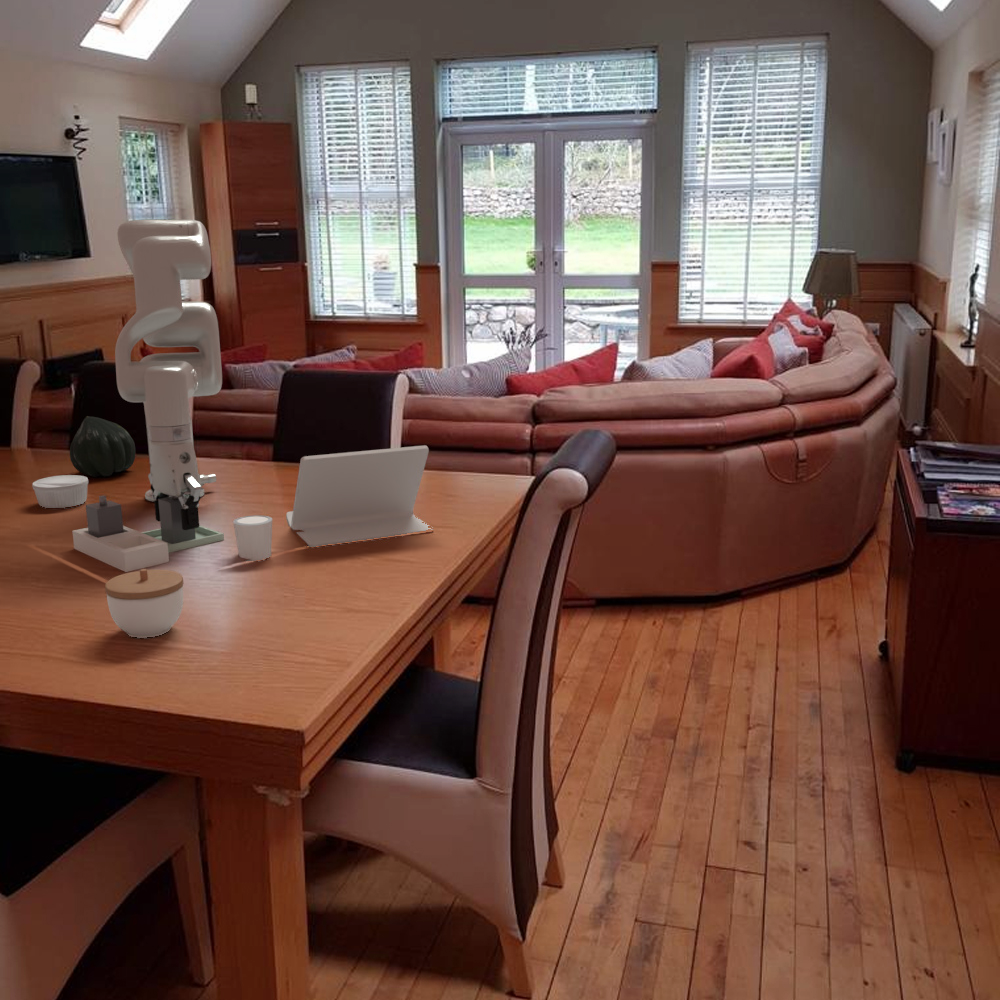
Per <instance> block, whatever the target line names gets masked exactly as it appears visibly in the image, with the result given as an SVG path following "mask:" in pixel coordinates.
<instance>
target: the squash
mask: <svg viewBox="0 0 1000 1000" xmlns="http://www.w3.org/2000/svg"><path fill="white" fill-rule="evenodd" d="M69 458H70V462H71V465H72V466H73V467H74V469H76V470H77V472H79V473H80V474H82V475H86V476H90V477H93V478H98V477H97V476H99V477H101V476H102V477H105V478H107V477H110V476H112V475H113V473H122V471H123V472H125V471H127V470H128V469H130V468H131V467H132V466H133V464H134V462H135V459H136V445H135V441H134V439H133V438H132V437H131V435H130V433H129V431H127V430H126V429H125V428H124V427H122V426H121V425H119V424H118V423H115V422H113V421H111V420H106V419H103V418H100V417H97V416H90V415H89V416H88V415H87V416H85V418H83V420H82V422H81V424H80V426H79V428H78V429H77V431H76V433H75V434H74V437H73V439H72V441H71V443H70V446H69ZM106 476H107V477H106Z"/></svg>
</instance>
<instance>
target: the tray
mask: <svg viewBox="0 0 1000 1000" xmlns="http://www.w3.org/2000/svg"><path fill="white" fill-rule="evenodd" d="M141 533H143V534H146V535H148V536H151V537H153V538H156V539H159V540H161V541H162V536H161V527H160V528H156V529H152V530H147V531H142V532H141ZM195 536H196V539H193V540H189V541H185V542H180V543H176V544H170V543H168V542H166V543H168V554H169V553H170V554H171V553H174V552H179V551H183V550H187V549H192V548H196V547H200V546H203V545H204V546H205V545H207V544H208V545H209V544H213V543H216V542H221V541H224V540H225V534H224V533H223V532H220V531H217V530H215V529H212V528H209V527H207V526H203V525H202V524H201V525H200V524H199V527H198V528H195ZM164 542H165V541H164Z"/></svg>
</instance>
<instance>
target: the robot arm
mask: <svg viewBox="0 0 1000 1000" xmlns="http://www.w3.org/2000/svg"><path fill="white" fill-rule="evenodd" d="M117 241H118V245H119V248H120V251H121V254H122V256H123V257H124V260H125V261H126V263H127V265H128V268H129V269H130V271H131V273H132V276H133V280H134V293H135V295H134V296H135V297H134V298H135V304H136V305H135V308H136V310H135V313H134V315H132V316H131V318H130V319H129V320H128V321H127V322H126V323H125V324H124V326H123V327H122V329H121V331H120V333H119V334H118V337H117V340H116V344H115V349H114V351H115V352H114V359H115V360H114V361H115V373H116V374H115V375H116V377H115V378H116V386H117V391H118V393H119V395H120V397H121V398H122V399H123V400H125V401H127V402H129V403H143V406H144V407H143V409H144V415H145V416H144V417H145V425H146V436H147V437H146V439H147V448H148V460H149V461H148V462H149V471H150V473H148V480H149V484H150V489H148V490H147V491H146V492H145V494H144V496H145V500H146V501H149V502H154V512H155V513H154V514H155V520H156V521H157V522H160V513H159V502H158V499H161V498H166V497H171V496H173V497H178V498H179V500H180V502H181V505H182V507H183V509H181V520H182V529H183V530H189V529H194V528H198V527H199V525H200V519H199V518H200V517H199V507H200V501H201V498H202V497H203V496H204V495H205V488H203V487H202V486H204V485H205V484H212V483H216V482H217V476H216V474H215V473H209V474H199V468H198V461H197V456H196V451H195V448H194V435H193V422H192V416H191V415H190V414H191V413H190V402H189V401H190V400H189V399H190V398H192V397H208V396H214V395H217V394H218V393H219V392H220V391H221V389H222V385H223V371H222V370H223V369H222V356H221V344H220V341H221V340H220V330H219V321H218V317H217V314H216V313H217V312H216V311H215V309H214V307H213V305H211V304H210V303H209V302H205V301H197V300H194V301H183V299H182V286H181V281H185V280H186V281H187V280H190V281H191V280H204V279H206V278H208V277H209V275H210V273H211V271H212V270H211V269H212V256H211V255H212V253H211V252H212V251H211V246H210V243H209V242H210V241H209V235H208V232H207V229H206V227H205V225H204V224H203V223H202V222H201V221H200V220H195V219H134V220H128V221H125V222H123V223H121V224H120V225H119V226H118V229H117ZM141 340H143V342H144V343H145V344H147V345H148V346H149V347H153V348H181V347H182V348H183V347H194V348H196V349H198V352H197V351H195V352H167V353H166V352H165V353H163V352H162V353H152V354H148V355H146V356H144V357H142V358H141V360H140V361H134V362H133V361H132V359H131V355H132V350H133V349H134V347H135V345H136V344H138V342H140V341H141ZM185 497H188V499H187V501H186V499H185Z"/></svg>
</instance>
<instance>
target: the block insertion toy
mask: <svg viewBox="0 0 1000 1000" xmlns="http://www.w3.org/2000/svg"><path fill="white" fill-rule="evenodd" d="M98 498H99V502H94V503H89V504H85V510H86V511H85V512H86V521H87V527H85V528H80V529H74V530H72V538H73V549H74V550H76V551H78V552H81V553H83V554H85V555H87V556H89V557H92V558H94V559H96V560H99V561H100V562H103V563H104V564H107V565H109V566H112V567H114V568H115V569H118V570H121V571H123V572H125V573H129V572H134V571H138V570H141V569H146V568H149V567H153V566H157V565H161V564H166V563H169V562H170V558H169V557H170V555H169V553H168V543H166V542H164V541H161V540H159V539H156V538H153V537H151V536H148V535H146V534H143V533H142V532H140V531H138V530H136V529H132V528H130V527H127V526H125V525H124V522H123V521H124V519H123V512H122V504H120V503H117V502H115V501H112V500H107V495H104V494H103V495H99V496H98Z"/></svg>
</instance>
